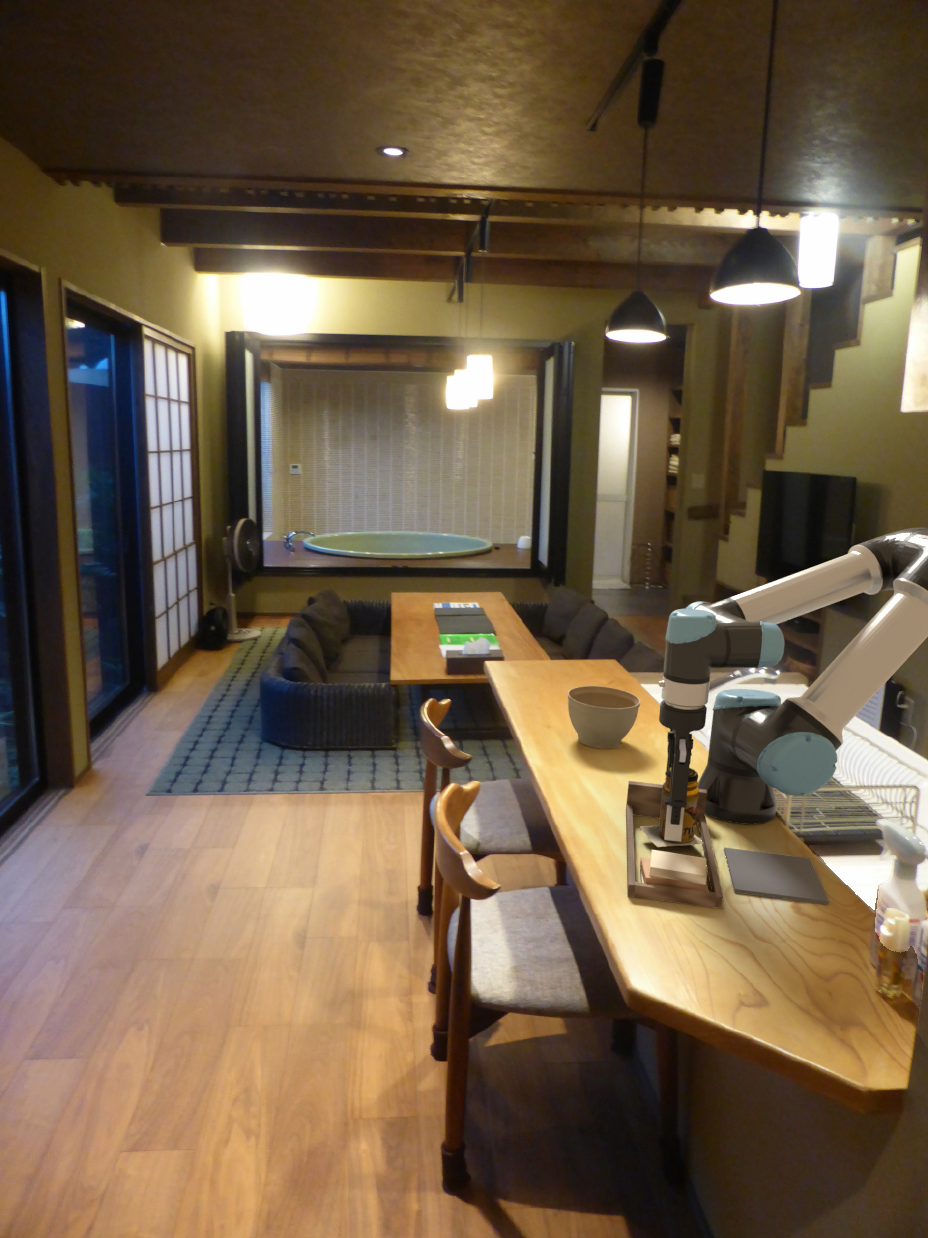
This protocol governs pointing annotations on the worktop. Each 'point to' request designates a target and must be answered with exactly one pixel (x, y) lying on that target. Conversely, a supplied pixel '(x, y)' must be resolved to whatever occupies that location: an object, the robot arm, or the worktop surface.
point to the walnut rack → (648, 803)
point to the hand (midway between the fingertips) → (671, 830)
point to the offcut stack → (674, 870)
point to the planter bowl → (602, 714)
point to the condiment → (689, 818)
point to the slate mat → (774, 876)
